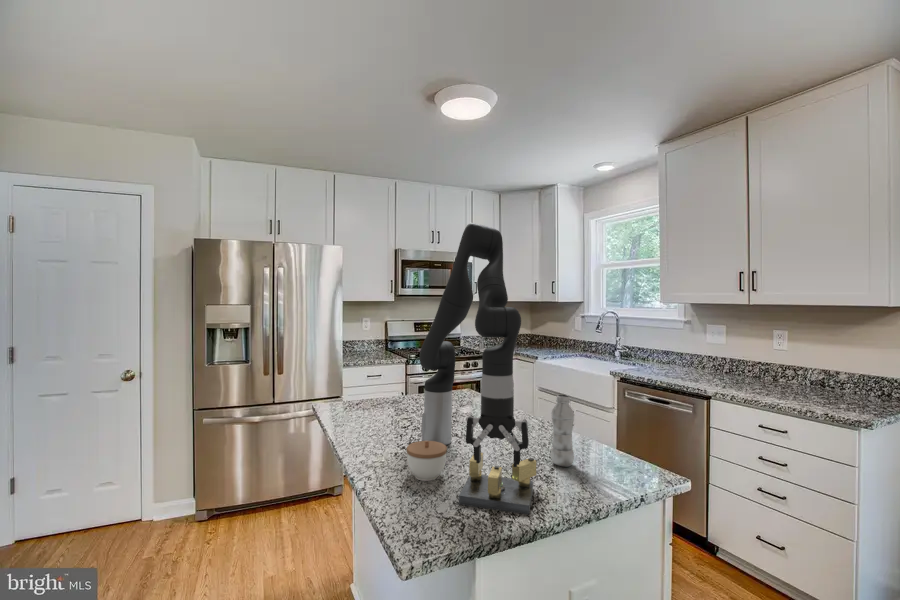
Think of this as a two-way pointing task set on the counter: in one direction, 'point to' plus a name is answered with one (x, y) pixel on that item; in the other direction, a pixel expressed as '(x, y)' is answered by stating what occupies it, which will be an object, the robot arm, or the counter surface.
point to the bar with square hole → (495, 482)
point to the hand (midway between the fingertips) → (496, 463)
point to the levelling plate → (510, 500)
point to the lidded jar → (426, 459)
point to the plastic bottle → (562, 432)
